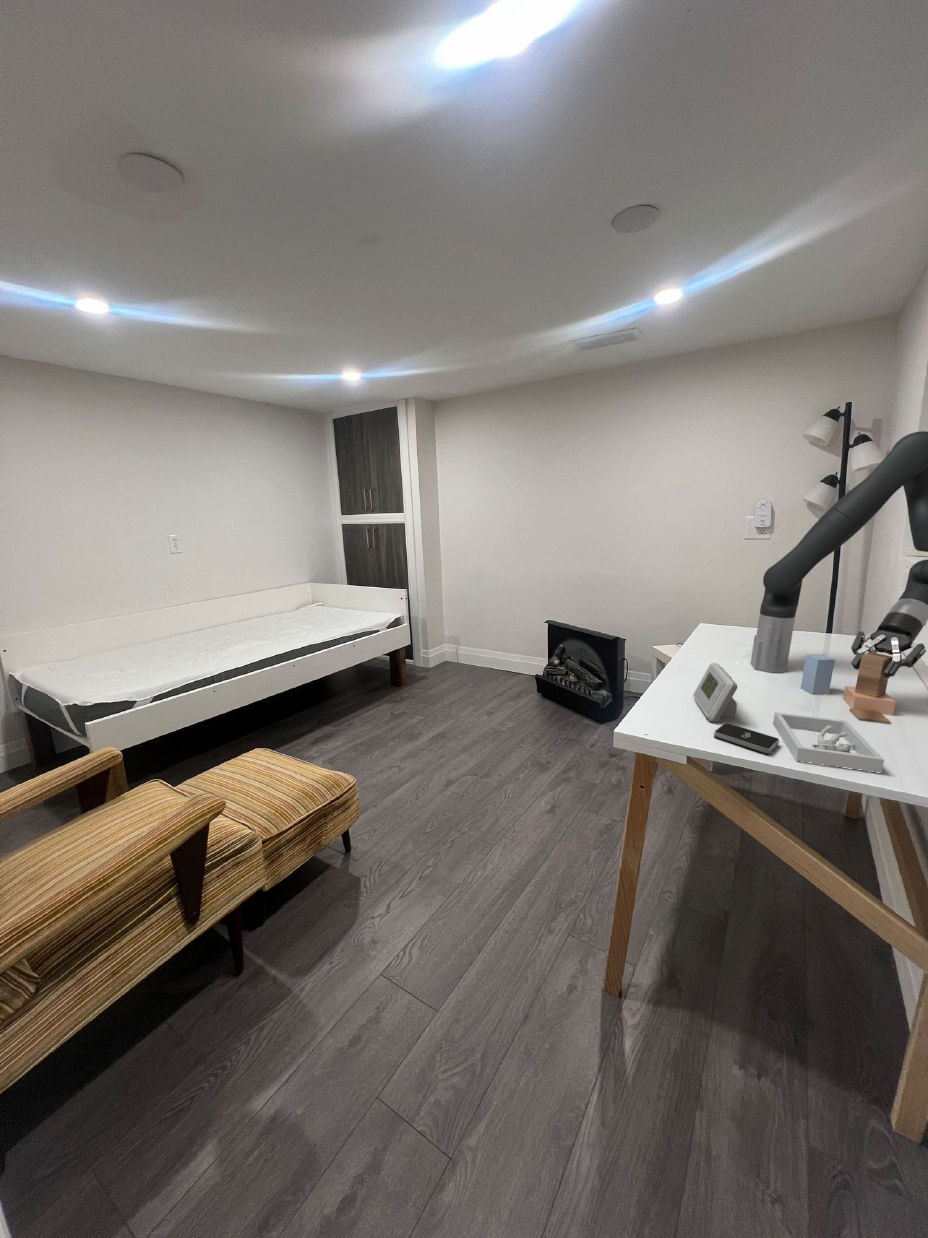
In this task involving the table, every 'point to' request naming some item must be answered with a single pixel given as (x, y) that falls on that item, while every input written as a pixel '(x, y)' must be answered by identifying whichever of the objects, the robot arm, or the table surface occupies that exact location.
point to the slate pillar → (817, 674)
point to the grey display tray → (862, 760)
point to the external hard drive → (746, 738)
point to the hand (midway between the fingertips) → (870, 671)
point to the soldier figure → (832, 741)
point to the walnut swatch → (869, 716)
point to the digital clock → (716, 694)
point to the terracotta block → (869, 701)
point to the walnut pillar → (872, 674)
